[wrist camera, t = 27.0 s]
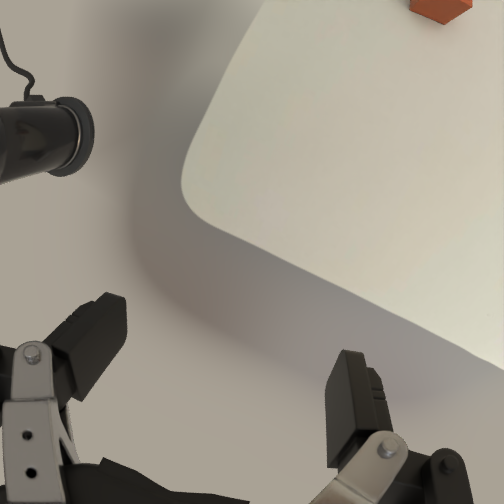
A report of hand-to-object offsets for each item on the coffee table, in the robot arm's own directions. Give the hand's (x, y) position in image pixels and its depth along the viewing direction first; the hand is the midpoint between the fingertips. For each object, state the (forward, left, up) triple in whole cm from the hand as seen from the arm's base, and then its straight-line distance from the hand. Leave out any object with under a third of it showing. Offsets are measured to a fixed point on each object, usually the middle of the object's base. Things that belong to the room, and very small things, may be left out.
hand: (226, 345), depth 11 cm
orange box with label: (-11, +31, -28) cm, 43 cm away
